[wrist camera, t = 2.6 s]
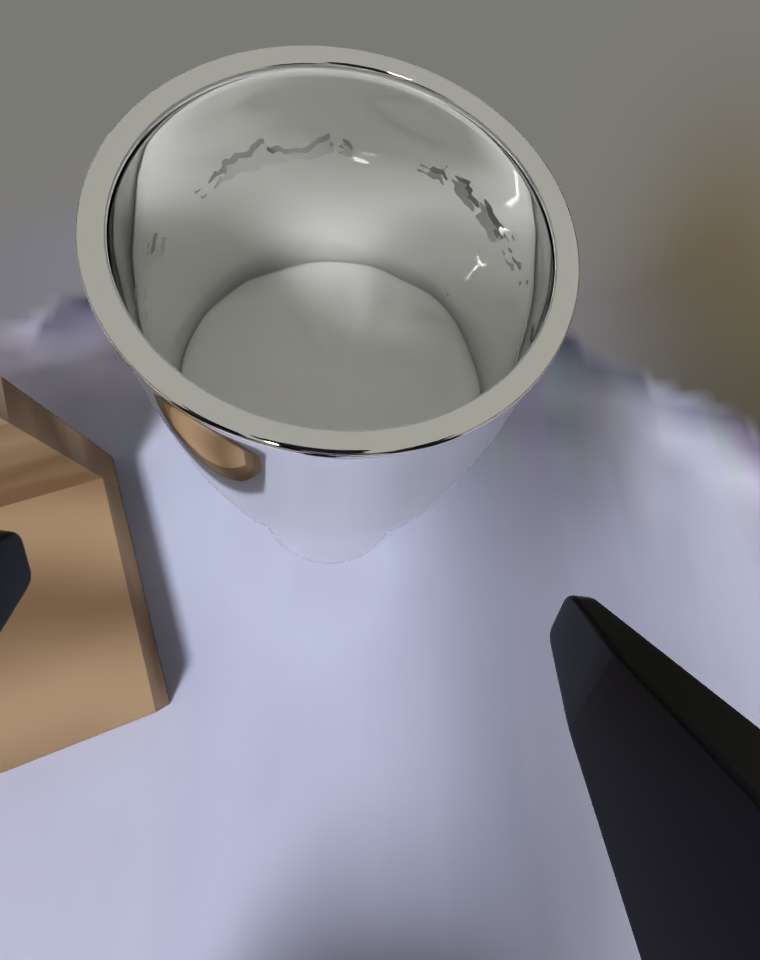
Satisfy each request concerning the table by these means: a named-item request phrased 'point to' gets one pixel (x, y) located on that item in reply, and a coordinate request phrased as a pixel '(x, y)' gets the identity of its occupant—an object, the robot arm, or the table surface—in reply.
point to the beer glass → (326, 281)
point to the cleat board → (68, 592)
